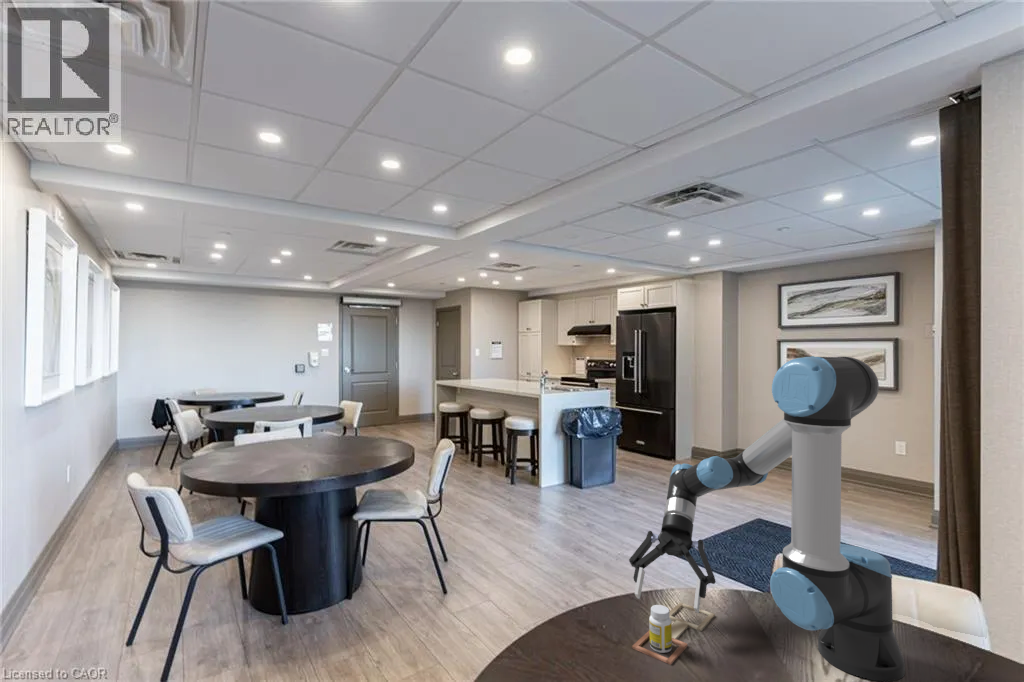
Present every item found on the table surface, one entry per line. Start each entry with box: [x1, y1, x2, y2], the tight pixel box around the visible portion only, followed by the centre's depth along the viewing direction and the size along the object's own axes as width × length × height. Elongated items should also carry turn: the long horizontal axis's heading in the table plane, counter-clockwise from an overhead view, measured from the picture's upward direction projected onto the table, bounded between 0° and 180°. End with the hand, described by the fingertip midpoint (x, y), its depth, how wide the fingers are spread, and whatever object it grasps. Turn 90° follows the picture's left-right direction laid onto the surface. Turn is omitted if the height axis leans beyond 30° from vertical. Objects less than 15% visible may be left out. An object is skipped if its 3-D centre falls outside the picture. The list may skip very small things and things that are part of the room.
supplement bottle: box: [648, 604, 673, 654], centre depth 110 cm, size 5×5×8 cm
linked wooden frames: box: [631, 602, 716, 666], centre depth 116 cm, size 9×26×1 cm, turn 138°
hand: (665, 603), depth 116 cm, fingers open, 13 cm apart
